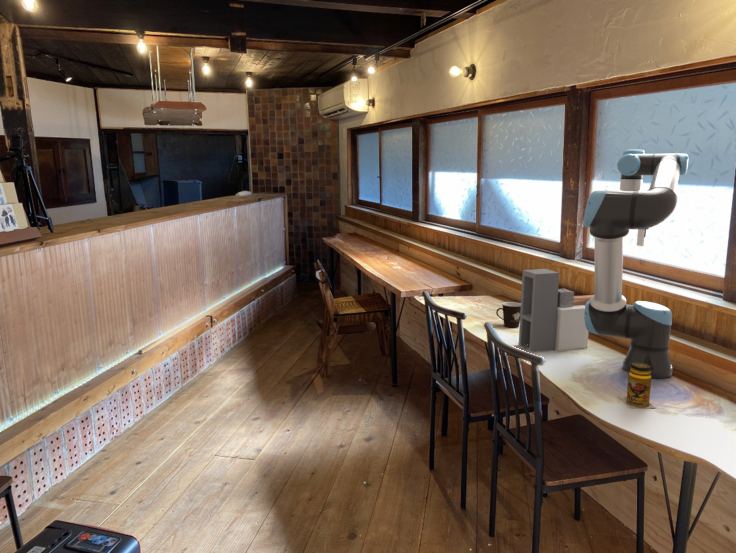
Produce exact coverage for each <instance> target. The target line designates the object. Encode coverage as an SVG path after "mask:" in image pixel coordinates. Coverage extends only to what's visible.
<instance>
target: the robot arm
mask: <svg viewBox="0 0 736 553" xmlns="http://www.w3.org/2000/svg"><path fill="white" fill-rule="evenodd" d="M688 165H689V155H688V154H687V153H680V152H679V153H678V152H675V153H645V150H644V149H625V150H623V153H622V156H621V157H620V158H619V159H618V160H617V163H616V168H617V170H618V172H619V173H620V182H619V190H608V189H604V190H594V191H592V192H591V193H590V194H589V197H588V199H587V202H586V207H585V210H584V216H583V227H585V228H588V229H589V234H590V236H592V237H593V238H594V281H593V282H594V286H593V287H594V291H593V293H594V294H592V295H593V296H592V297H591V298H590V300H589V301H587V302H586V305H584V306H585V315H584V319H585V325H586V328H587V330H588V331H589V333H590V334H595V335H599V336H609V337H615V338H622V339H630V346H629V349H628V350H627V353H626V356H625V357H624V359H623V361H622V369H623V370H624V371H625V372H627V373H629V372H630V369H631V364H632V363H645V364H648V365H650V367H651V373H650V375H651V377H652V378H651V379H666V378H669V377H671V376H672V374H673V365H672V363H671V362H672V361H671V357H670V353H669V350H670V340H671V328H672V325H673V321H672V320H673V315H672V314H673V312H672V311H671V309H670V308H668V307H667V306H665V305H662V304H659V303H657V302H651V301H645V300H643V301H642V300H637V301H635V302H634V303H633V304H627V299H626V297H625V296H624V295H622V293H623V269H624V243H625V242H624V240H625V237H626V236H628V234H629V233H630V230H637V238H636V246H639V247H644V241H645V238H646V236H647V234H646V233H647V230H649V229H650V228H653V227H655V226H658V225H660V224H661V223H663V222H664V221H666V220H667V219H668V218H669V217H670V216H672V214H673V213H674V212H675V211H676V207H677V204H678V196H677V194H676V192H677V188H678V187H677V186H678V182H679V178H680V176H685V175H686V174H687V173H688ZM643 176H652V179H651V182H650V184H649V185H650V186H649V189H647V190H642V188H643V178H644V177H643Z"/></svg>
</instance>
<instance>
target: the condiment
mask: <svg viewBox="0 0 736 553" xmlns="http://www.w3.org/2000/svg"><path fill="white" fill-rule="evenodd" d="M650 373H651V367H650V365H648V364H645V363H632V364H631V369H630V372H628V377H627V387H626V396H625V395H624V396H621V395H620V396H619V395H618V398H619V399H620V400H622V402H623V403H624V404H626V406H628V407H629V408H630V409H656V408H657V407H655V405H653V404H652V403H650V397H651V389H652V388H651V387H652V386H651V385H652V379H653V378H652V377H651V375H650Z"/></svg>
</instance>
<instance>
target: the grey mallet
mask: <svg viewBox="0 0 736 553" xmlns="http://www.w3.org/2000/svg"><path fill="white" fill-rule="evenodd" d="M593 295H594V294H590V295H588V294H587V295H575V291H573V290H569V289H568V288H567V289H566V288H558V301H557V307H558V308H565V307H573V306H577V305H584V306H585V305H586V302H587V301H589V300H590V298H591V297H592V296H593Z"/></svg>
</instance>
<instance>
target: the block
mask: <svg viewBox="0 0 736 553" xmlns="http://www.w3.org/2000/svg"><path fill="white" fill-rule="evenodd" d="M584 315H585V305H577V306H573V307H565V308H558V307H557V316H556V331H555V346H554V350H556V351H567V350H568V351H569V350H579V349H587V348H588V344H589V343H588V342H589V334H590V332H589V331H588V330H587V328H586V325H585V319H584Z"/></svg>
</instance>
